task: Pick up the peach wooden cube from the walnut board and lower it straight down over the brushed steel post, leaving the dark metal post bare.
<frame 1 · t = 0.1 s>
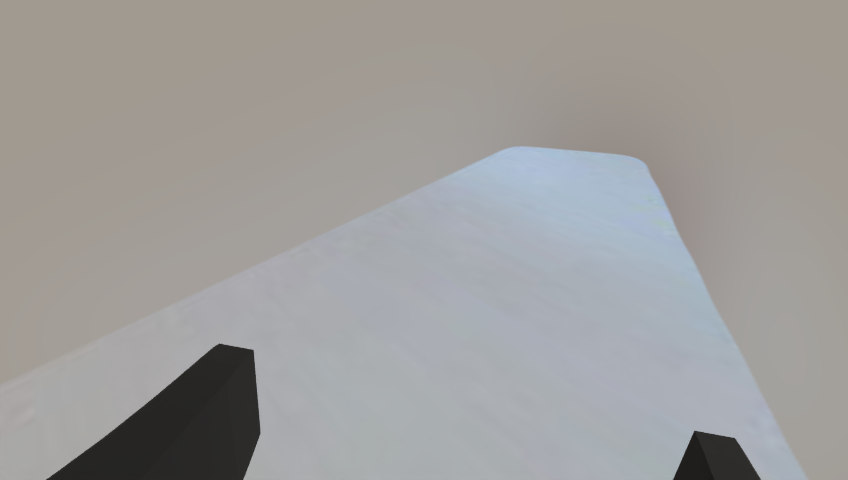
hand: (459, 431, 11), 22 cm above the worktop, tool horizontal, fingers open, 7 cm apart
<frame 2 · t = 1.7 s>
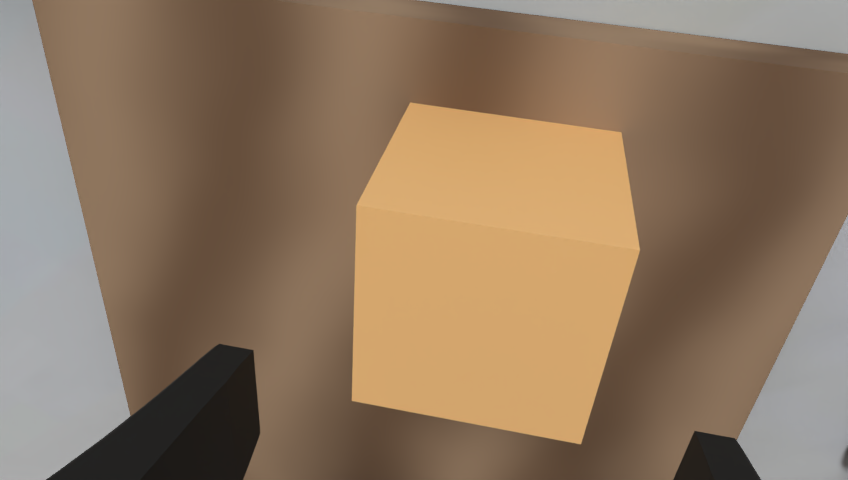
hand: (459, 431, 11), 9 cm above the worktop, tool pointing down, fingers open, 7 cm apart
peach wooden cube: (499, 208, 17), point 1 cm above the worktop, touching walnut board
walnut board: (413, 377, 23), on the worktop
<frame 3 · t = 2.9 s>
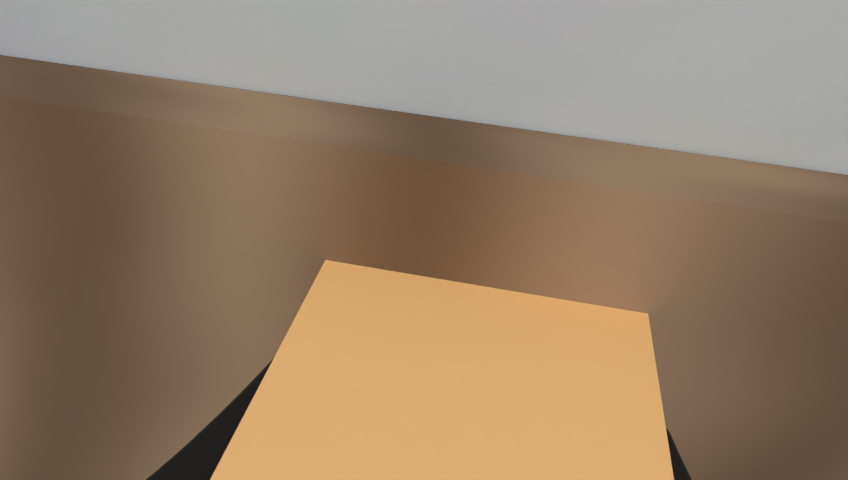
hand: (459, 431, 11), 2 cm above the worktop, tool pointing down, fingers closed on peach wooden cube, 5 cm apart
peach wooden cube: (465, 400, 12), point 1 cm above the worktop, touching gripper, walnut board
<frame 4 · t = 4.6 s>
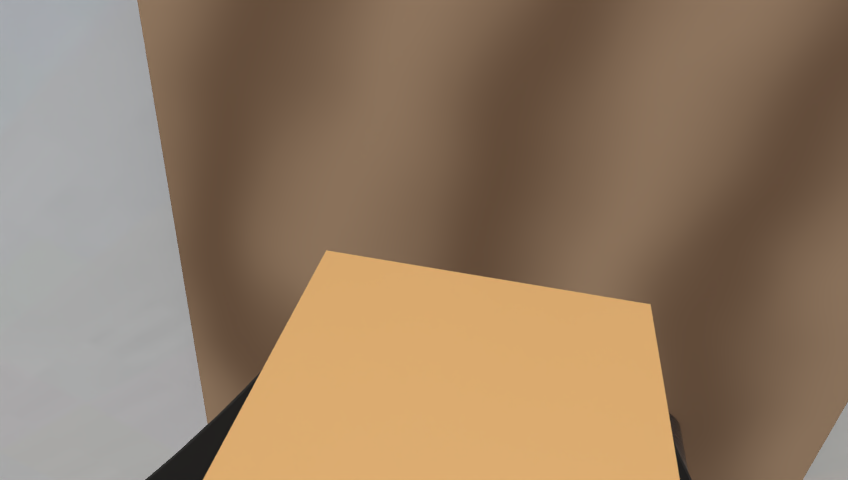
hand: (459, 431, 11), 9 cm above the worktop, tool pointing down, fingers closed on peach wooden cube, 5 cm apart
peach wooden cube: (466, 392, 12), point 9 cm above the worktop, touching gripper
walnut board: (527, 158, 19), on the worktop
dark post: (642, 395, 23), resting on walnut board
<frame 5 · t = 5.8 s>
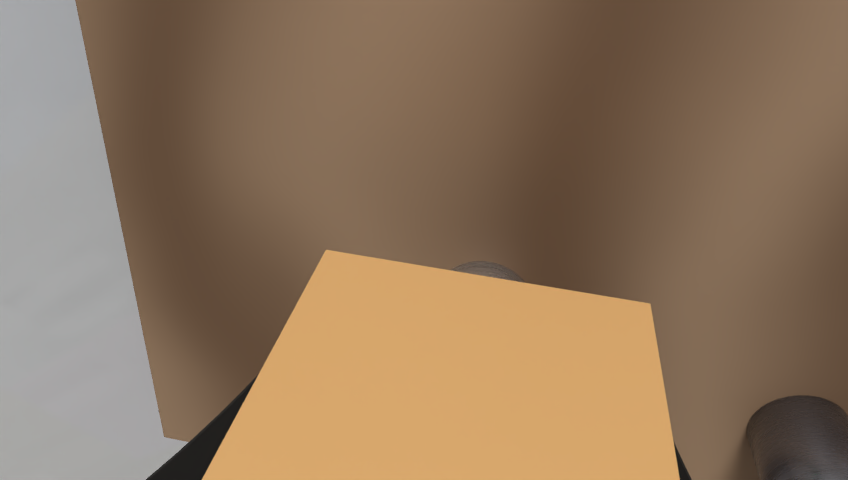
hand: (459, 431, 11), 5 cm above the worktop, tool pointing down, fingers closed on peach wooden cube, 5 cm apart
steel post: (490, 260, 15), resting on walnut board
peach wooden cube: (466, 392, 12), point 4 cm above the worktop, touching gripper
dark post: (779, 379, 16), resting on walnut board
when the fingers open (4 cm above the worktop, at t = 6.6 s): peach wooden cube drops 1 cm, resting on walnut board.
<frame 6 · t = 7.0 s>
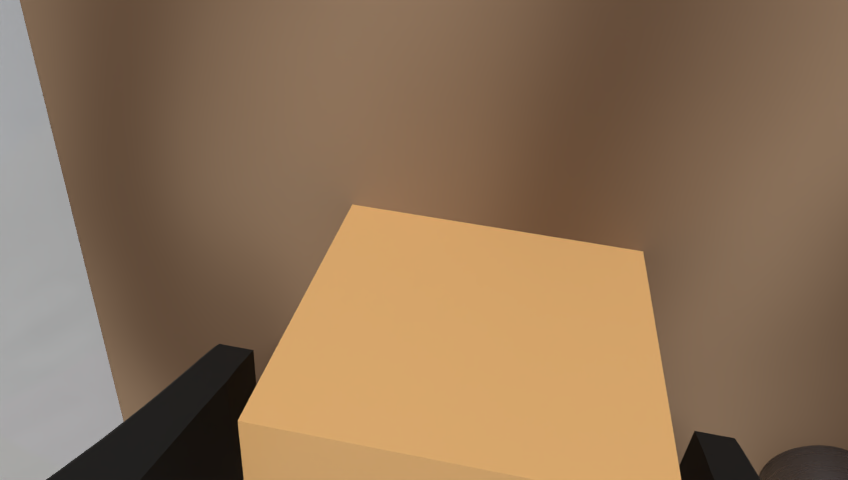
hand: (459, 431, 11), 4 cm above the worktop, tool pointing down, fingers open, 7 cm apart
peach wooden cube: (476, 337, 13), point 1 cm above the worktop, touching walnut board
walnut board: (654, 20, 11), on the worktop
dark post: (792, 422, 15), resting on walnut board
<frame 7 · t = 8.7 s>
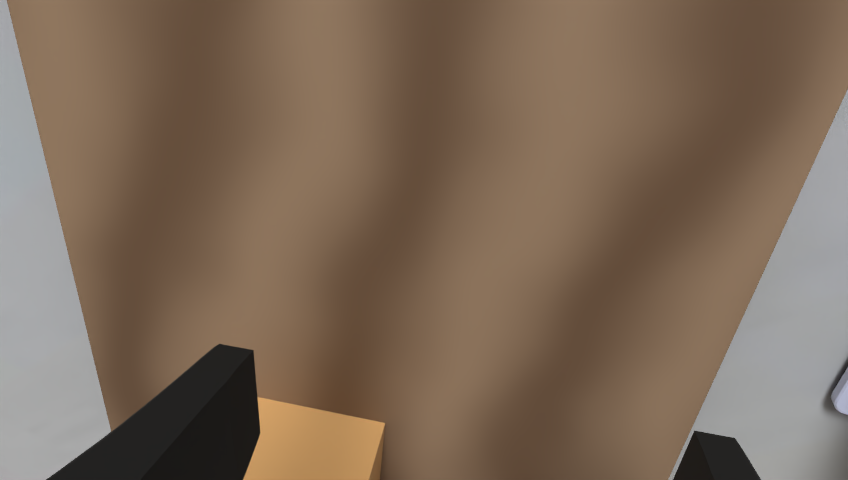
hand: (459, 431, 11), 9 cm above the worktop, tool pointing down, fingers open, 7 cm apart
peach wooden cube: (313, 455, 25), point 1 cm above the worktop, touching walnut board
walnut board: (385, 316, 23), on the worktop
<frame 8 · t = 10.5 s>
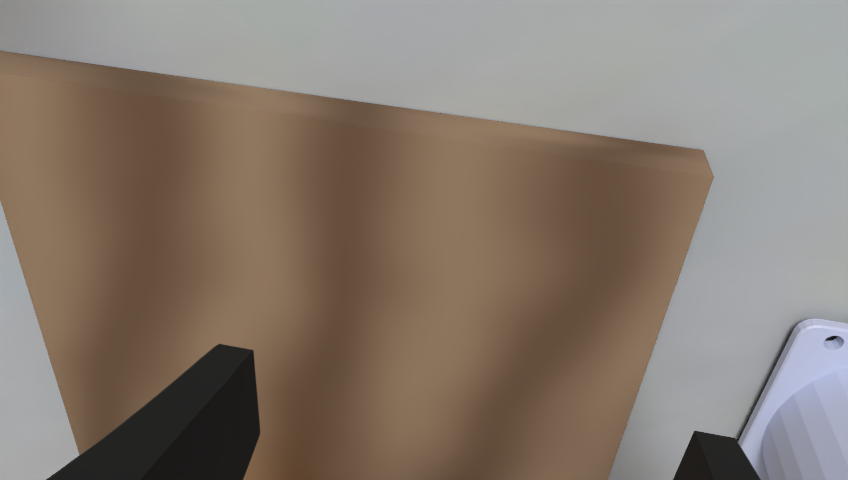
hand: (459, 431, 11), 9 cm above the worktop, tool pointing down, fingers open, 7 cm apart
walnut board: (330, 411, 26), on the worktop
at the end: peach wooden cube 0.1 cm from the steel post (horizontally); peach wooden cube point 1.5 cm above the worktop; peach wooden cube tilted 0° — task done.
